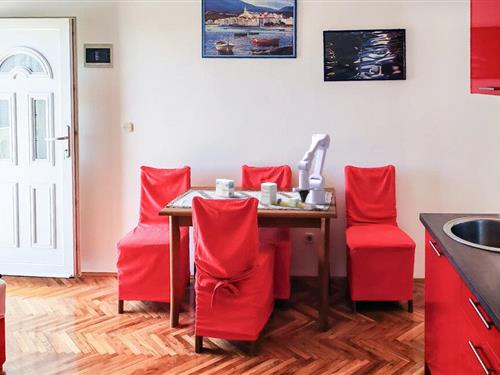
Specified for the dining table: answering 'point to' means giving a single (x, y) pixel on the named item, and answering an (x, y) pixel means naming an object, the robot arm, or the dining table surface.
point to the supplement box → (268, 193)
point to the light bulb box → (225, 188)
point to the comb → (310, 206)
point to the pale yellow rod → (280, 202)
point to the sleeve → (293, 202)
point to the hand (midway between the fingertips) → (303, 202)
